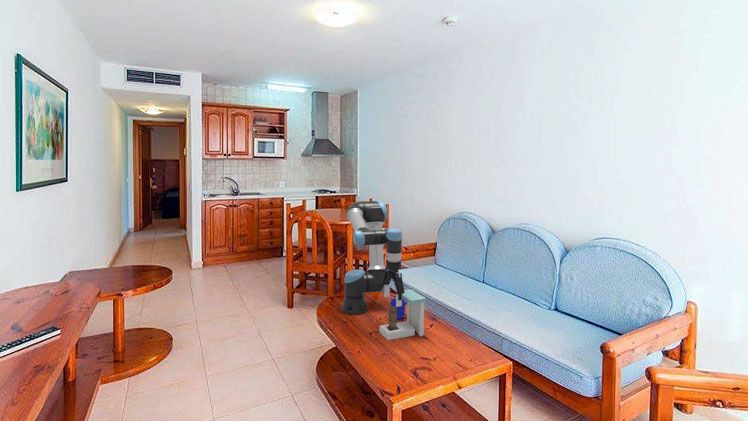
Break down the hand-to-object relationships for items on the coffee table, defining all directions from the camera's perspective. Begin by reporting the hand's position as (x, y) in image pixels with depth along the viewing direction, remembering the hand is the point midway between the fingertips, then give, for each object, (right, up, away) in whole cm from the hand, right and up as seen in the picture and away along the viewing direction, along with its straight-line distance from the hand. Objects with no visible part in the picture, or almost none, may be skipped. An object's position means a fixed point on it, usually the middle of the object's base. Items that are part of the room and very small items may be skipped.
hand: (392, 301), depth 200 cm
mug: (+6, -15, +24) cm, 28 cm away
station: (+4, -17, +4) cm, 18 cm away
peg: (0, -17, +2) cm, 17 cm away
